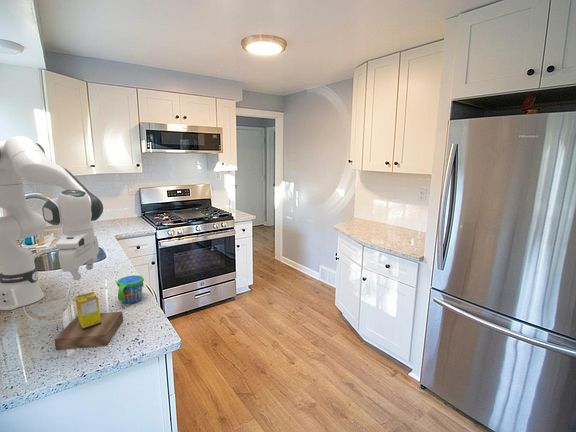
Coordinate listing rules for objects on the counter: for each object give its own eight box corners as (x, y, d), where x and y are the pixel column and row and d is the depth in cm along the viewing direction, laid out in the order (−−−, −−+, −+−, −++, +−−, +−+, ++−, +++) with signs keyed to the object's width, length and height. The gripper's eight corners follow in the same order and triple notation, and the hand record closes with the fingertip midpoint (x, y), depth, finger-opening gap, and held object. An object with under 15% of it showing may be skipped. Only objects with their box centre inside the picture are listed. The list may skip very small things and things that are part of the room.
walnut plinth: (56, 349, 104) (54, 339, 103) (79, 324, 119) (77, 315, 118) (107, 345, 106) (105, 334, 105) (123, 320, 122) (122, 311, 121)
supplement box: (97, 318, 116) (93, 291, 114) (101, 324, 112) (98, 296, 110) (78, 324, 112) (74, 296, 110) (82, 330, 108) (78, 301, 106)
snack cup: (134, 291, 147) (132, 272, 145) (153, 294, 145) (151, 273, 143) (109, 307, 132) (106, 285, 130) (130, 310, 130) (128, 287, 128)
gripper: (83, 229, 116) (87, 264, 119) (52, 245, 96) (58, 286, 99) (101, 229, 117) (105, 263, 120) (74, 244, 97) (79, 285, 100)
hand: (83, 274), depth 109 cm, fingers open, 8 cm apart
